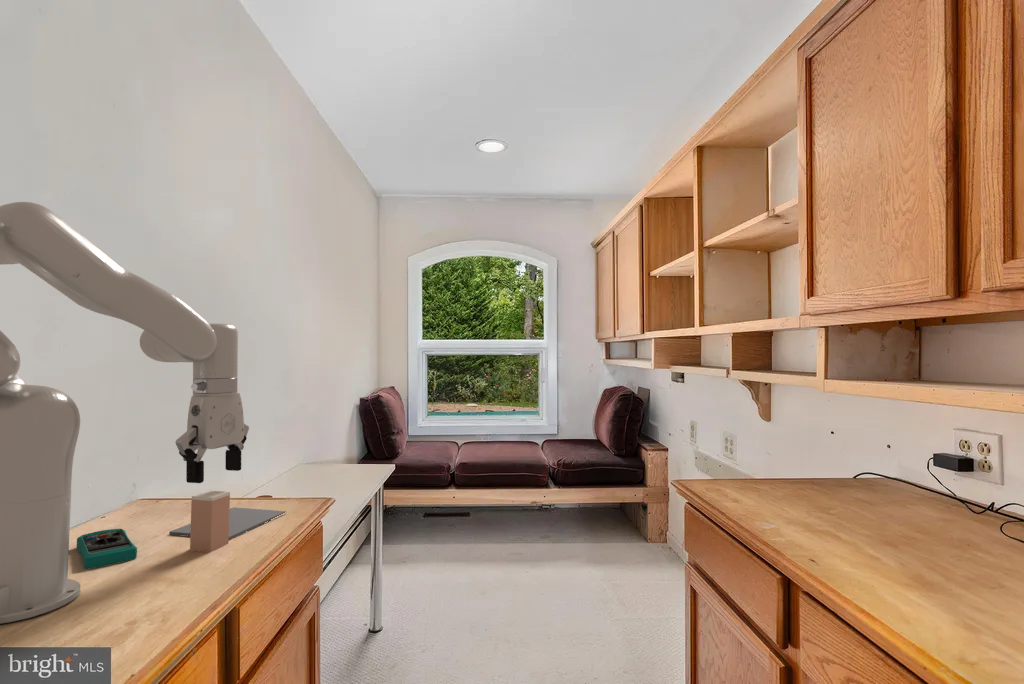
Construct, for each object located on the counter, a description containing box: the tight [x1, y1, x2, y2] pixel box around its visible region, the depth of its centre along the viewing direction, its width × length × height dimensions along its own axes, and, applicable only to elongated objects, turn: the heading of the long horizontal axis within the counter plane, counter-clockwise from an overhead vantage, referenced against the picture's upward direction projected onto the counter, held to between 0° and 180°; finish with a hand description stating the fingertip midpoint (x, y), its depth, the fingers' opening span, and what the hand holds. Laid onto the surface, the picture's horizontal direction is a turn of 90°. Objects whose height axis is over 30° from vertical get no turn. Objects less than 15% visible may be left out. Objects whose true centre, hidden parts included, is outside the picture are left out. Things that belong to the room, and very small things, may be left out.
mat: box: [169, 506, 287, 541], centre depth 113 cm, size 18×14×1 cm
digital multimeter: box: [76, 528, 138, 570], centre depth 95 cm, size 7×15×3 cm, turn 44°
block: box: [189, 490, 231, 553], centre depth 99 cm, size 4×4×10 cm
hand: (215, 476), depth 100 cm, fingers open, 9 cm apart
